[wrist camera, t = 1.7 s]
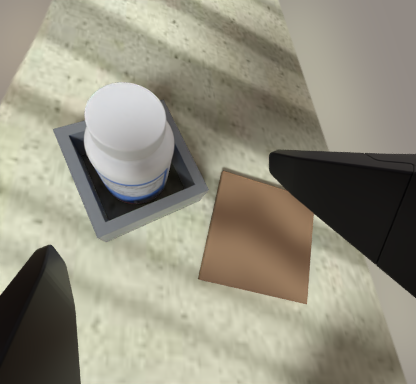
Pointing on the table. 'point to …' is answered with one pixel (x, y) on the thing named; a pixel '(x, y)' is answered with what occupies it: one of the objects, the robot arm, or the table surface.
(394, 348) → the table surface
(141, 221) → the holder box
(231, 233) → the walnut coaster
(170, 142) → the pill bottle
